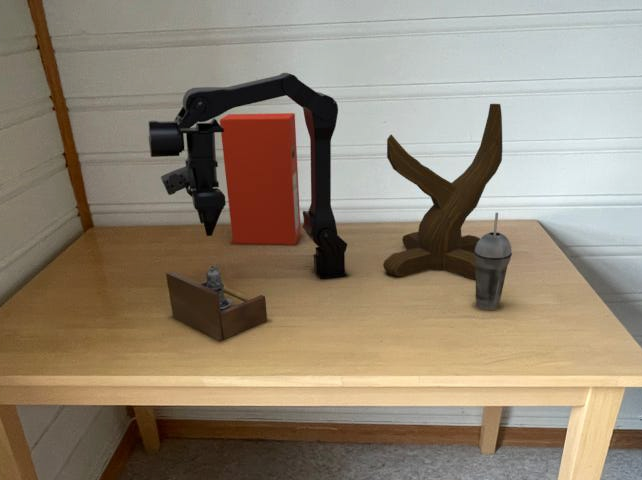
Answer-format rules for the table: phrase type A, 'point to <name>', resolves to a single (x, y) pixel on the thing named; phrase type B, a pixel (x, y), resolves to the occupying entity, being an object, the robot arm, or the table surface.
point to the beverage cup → (491, 268)
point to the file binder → (262, 178)
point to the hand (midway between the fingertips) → (206, 229)
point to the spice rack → (213, 308)
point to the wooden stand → (446, 207)
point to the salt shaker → (217, 286)
